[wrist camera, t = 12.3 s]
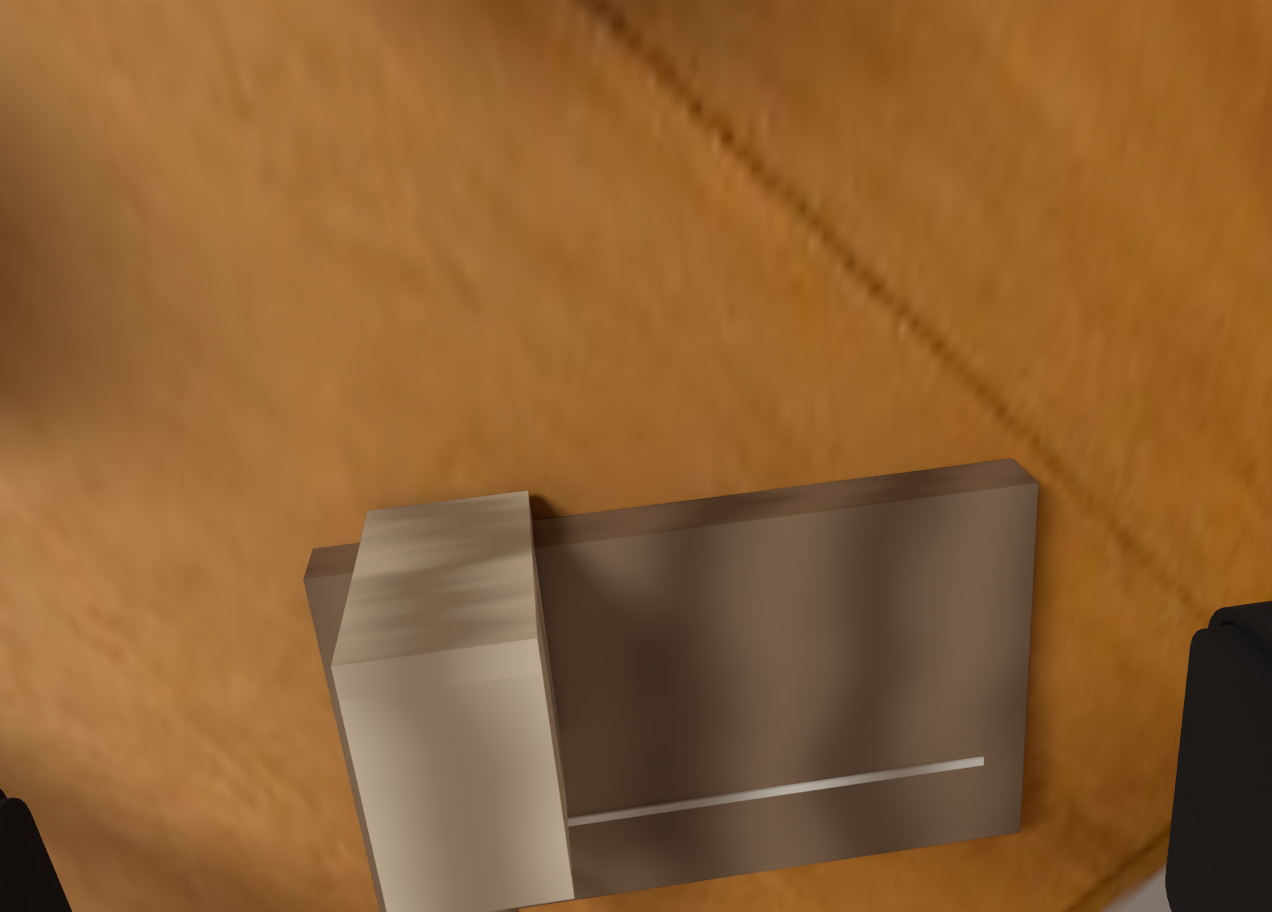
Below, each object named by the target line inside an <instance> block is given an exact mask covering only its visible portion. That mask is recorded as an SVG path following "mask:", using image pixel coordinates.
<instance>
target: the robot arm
mask: <svg viewBox="0 0 1272 912" xmlns="http://www.w3.org/2000/svg"><path fill="white" fill-rule="evenodd" d="M1165 886H1166V892H1167V898H1168V901H1169V905H1170V908H1171V911H1172V912H1272V601H1266V602H1259V603H1252V604H1245V605H1238V606H1231V607H1224V608H1221V609H1219V610H1217V611H1215V613H1214V614H1213V616H1212V617H1211V619H1210V622H1209V626H1208V628H1206V629H1201V630H1199V631H1197V632H1196V633H1195V634H1194V636H1193V638H1192V641H1191V646H1190V653H1189V663H1188V672H1187V681H1186V690H1185V700H1184V709H1183V718H1182V728H1181V737H1180V746H1179V755H1178V765H1177V774H1176V783H1175V792H1174V802H1173V811H1172V820H1171V829H1170V839H1169V848H1168V857H1167V866H1166V876H1165ZM0 912H72V910H71V908H70V905H69V903H68V901H67V898H66V896H65V893H64V891H63V889H62V886H61V884H60V881H59V879H58V877H57V874H56V872H55V869H54V867H53V865H52V862H51V860H50V857H49V855H48V853H47V850H46V848H45V845H44V843H43V841H42V838H41V836H40V833H39V831H38V829H37V826H36V824H35V821H34V819H33V817H32V814H31V812H30V810H29V808H28V807H27V805H26V803H24V802H23V801H22V800H21V799H18V798H8V799H7V797H6V795H5V794H4V792H3V791H2V790H1V789H0Z"/></svg>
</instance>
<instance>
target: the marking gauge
mask: <svg viewBox="0 0 1272 912" xmlns="http://www.w3.org/2000/svg"><path fill="white" fill-rule="evenodd" d="M331 669H332V673H333V678H334V682H335V687H336V691H337V695H338V700H339V704H340V709H341V713H342V717H343V722H344V726H345V731H346V735H347V739H348V744H349V748H350V753H351V757H352V761H353V766H354V770H355V775H356V779H357V783H358V788H359V792H360V797H361V801H362V805H363V810H364V814H365V819H366V823H367V827H368V832H369V836H370V841H371V845H372V849H373V854H374V858H375V862H376V867H377V871H378V876H379V880H380V884H381V889H382V893H383V898H384V902H385V906H386V911H387V912H519V909H518V907H522V906H529V905H536V904H542V903H549V902H555V901H562V900H569V899H574V887H573V875H572V864H571V852H570V840H569V829H568V817H567V805H566V794H565V782H564V770H563V759H562V747H561V738H560V731H559V723H558V716H557V709H556V702H555V695H554V688H553V680H552V673H551V666H550V659H549V652H548V644H547V637H546V630H545V623H544V616H543V609H542V601H541V594H540V587H539V580H538V573H537V565H536V558H535V551H534V543H533V528H532V516H531V509H530V502H529V495H528V491H521V492H513V493H506V494H498V495H490V496H482V497H474V498H466V499H459V500H451V501H443V502H435V503H427V504H419V505H411V506H404V507H396V508H388V509H380V510H372V511H368V512H367V516H366V521H365V525H364V529H363V533H362V538H361V542H360V546H359V550H358V554H357V559H356V563H355V567H354V571H353V576H352V580H351V584H350V588H349V592H348V597H347V601H346V605H345V609H344V614H343V618H342V622H341V626H340V630H339V635H338V639H337V643H336V647H335V652H334V656H333V660H332V664H331Z"/></svg>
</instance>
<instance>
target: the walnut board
mask: <svg viewBox="0 0 1272 912" xmlns="http://www.w3.org/2000/svg"><path fill="white" fill-rule="evenodd" d="M1038 484H1039V483H1038V482H1037V481H1036V480H1035V479H1034V478H1033V477H1032V476H1031V475H1029V474H1028V473H1027V472H1026V471H1025V470H1024V469H1023V468H1022V467H1021V466H1020V465H1019V464H1018V463H1017V462H1016V461H1015V460H1013V459H1006V460H998V461H991V462H983V463H975V464H968V465H960V466H952V467H944V468H937V469H929V470H921V471H913V472H906V473H898V474H890V475H882V476H875V477H867V478H859V479H852V480H844V481H836V482H828V483H821V484H813V485H805V486H797V487H790V488H782V489H774V490H766V491H759V492H751V493H743V494H736V495H728V496H720V497H712V498H705V499H697V500H689V501H681V502H674V503H666V504H658V505H650V506H643V507H635V508H627V509H620V510H612V511H604V512H596V513H589V514H581V515H573V516H565V517H558V518H550V519H542V520H534V521H532V528H533V543H534V551H535V558H536V565H537V573H538V580H539V587H540V594H541V601H542V609H543V616H544V623H545V630H546V637H547V644H548V652H549V659H550V666H551V673H552V680H553V688H554V695H555V702H556V709H557V716H558V723H559V731H560V738H561V747H562V759H563V770H564V782H565V794H566V805H567V817H568V829H569V840H570V852H571V864H572V875H573V887H574V899H569V900H562V901H555V902H549V903H542V904H536V905H529V906H522V907H518V909H519V908H526V907H532V906H539V905H545V904H552V903H558V902H565V901H572V900H578V899H585V898H591V897H598V896H604V895H611V894H618V893H624V892H631V891H637V890H644V889H650V888H657V887H664V886H670V885H677V884H683V883H690V882H696V881H703V880H710V879H716V878H723V877H729V876H736V875H743V874H749V873H756V872H762V871H769V870H775V869H782V868H789V867H795V866H802V865H808V864H815V863H821V862H828V861H835V860H841V859H848V858H854V857H861V856H867V855H874V854H881V853H887V852H894V851H900V850H907V849H913V848H920V847H927V846H933V845H940V844H946V843H953V842H959V841H966V840H973V839H979V838H986V837H992V836H999V835H1005V834H1012V833H1019V832H1020V824H1021V805H1022V786H1023V767H1024V748H1025V729H1026V710H1027V692H1028V673H1029V654H1030V635H1031V616H1032V597H1033V578H1034V559H1035V540H1036V522H1037V503H1038ZM359 546H360V543H357V544H349V545H341V546H333V547H326V548H318V549H313V551H312V554H311V557H310V560H309V563H308V566H307V570H306V573H305V576H304V579H303V580H304V584H305V588H306V593H307V597H308V601H309V606H310V610H311V614H312V619H313V623H314V627H315V632H316V636H317V640H318V645H319V649H320V653H321V658H322V662H323V666H324V671H325V675H326V679H327V684H328V688H329V693H330V697H331V701H332V706H333V710H334V714H335V719H336V723H337V727H338V732H339V736H340V740H341V745H342V749H343V753H344V758H345V762H346V766H347V771H348V775H349V779H350V784H351V788H352V792H353V797H354V801H355V805H356V810H357V814H358V818H359V823H360V827H361V831H362V836H363V840H364V844H365V849H366V853H367V857H368V862H369V866H370V870H371V875H372V879H373V883H374V888H375V892H376V896H377V901H378V905H379V910H380V912H387V911H386V906H385V902H384V898H383V893H382V889H381V884H380V880H379V876H378V871H377V867H376V862H375V858H374V854H373V849H372V845H371V841H370V836H369V832H368V827H367V823H366V819H365V814H364V810H363V805H362V801H361V797H360V792H359V788H358V783H357V779H356V775H355V770H354V766H353V761H352V757H351V753H350V748H349V744H348V739H347V735H346V731H345V726H344V722H343V717H342V713H341V709H340V704H339V700H338V695H337V691H336V687H335V682H334V678H333V673H332V669H331V664H332V660H333V656H334V652H335V647H336V643H337V639H338V635H339V630H340V626H341V622H342V618H343V614H344V609H345V605H346V601H347V597H348V592H349V588H350V584H351V580H352V576H353V571H354V567H355V563H356V559H357V554H358V550H359Z"/></svg>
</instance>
